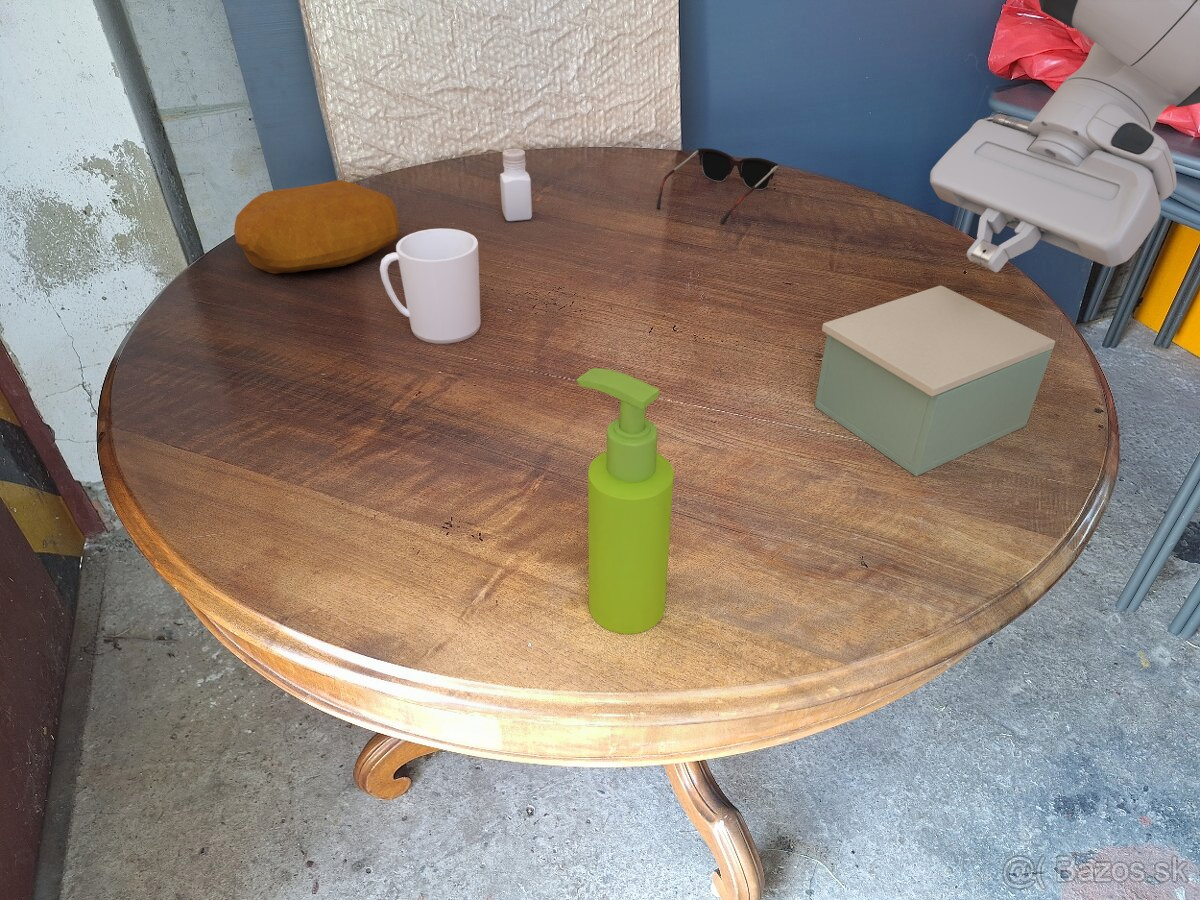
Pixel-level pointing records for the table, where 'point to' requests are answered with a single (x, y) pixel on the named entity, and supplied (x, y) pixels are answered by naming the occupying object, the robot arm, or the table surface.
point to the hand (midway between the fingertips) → (980, 264)
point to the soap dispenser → (628, 511)
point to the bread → (315, 226)
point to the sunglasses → (721, 166)
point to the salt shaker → (515, 186)
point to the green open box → (924, 407)
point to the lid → (937, 339)
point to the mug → (438, 284)
